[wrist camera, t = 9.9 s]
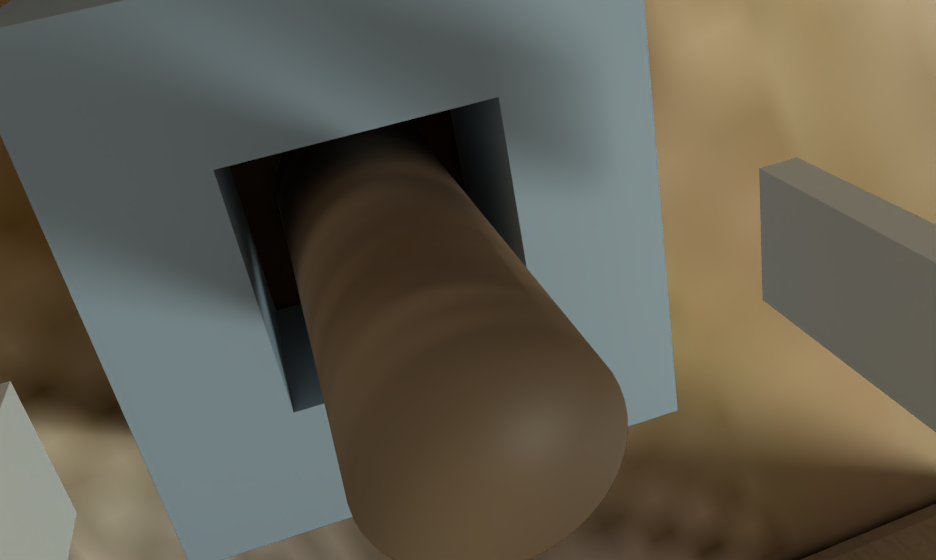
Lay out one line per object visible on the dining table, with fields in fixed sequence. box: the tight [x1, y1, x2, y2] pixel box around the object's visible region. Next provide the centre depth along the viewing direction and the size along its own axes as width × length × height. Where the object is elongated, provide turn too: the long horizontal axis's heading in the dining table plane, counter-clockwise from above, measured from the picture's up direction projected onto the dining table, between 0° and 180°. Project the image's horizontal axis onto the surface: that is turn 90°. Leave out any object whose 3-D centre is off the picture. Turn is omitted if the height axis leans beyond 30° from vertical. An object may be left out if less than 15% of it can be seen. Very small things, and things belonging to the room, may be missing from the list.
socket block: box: [0, 0, 678, 560], centre depth 20 cm, size 12×12×5 cm
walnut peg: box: [275, 121, 628, 560], centre depth 17 cm, size 4×4×12 cm
